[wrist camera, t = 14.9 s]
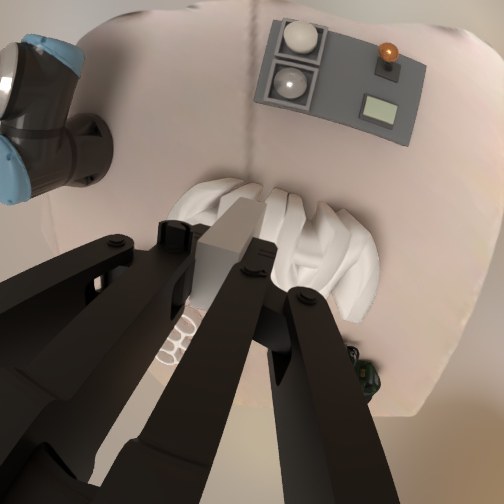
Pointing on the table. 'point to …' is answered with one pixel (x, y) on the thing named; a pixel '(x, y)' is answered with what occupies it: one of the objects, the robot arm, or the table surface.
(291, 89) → the metal button
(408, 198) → the table surface
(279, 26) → the switch panel
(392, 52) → the toggle lever
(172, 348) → the knuckle duster
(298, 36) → the white button
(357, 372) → the headphones
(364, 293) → the white wavy slab sculpture
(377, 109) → the rocker switch
